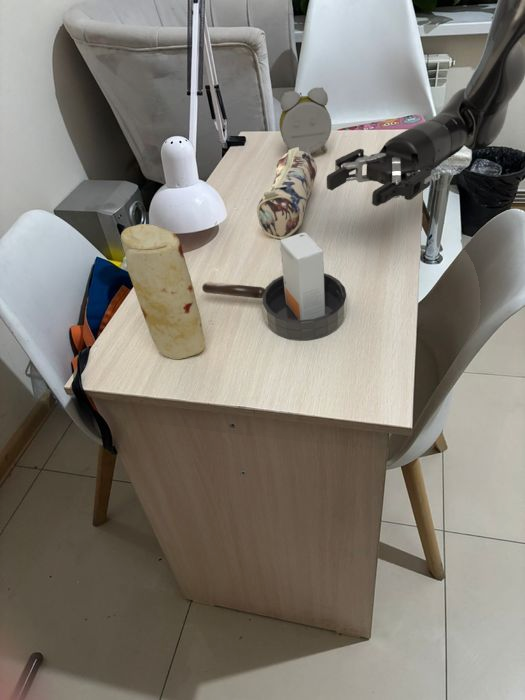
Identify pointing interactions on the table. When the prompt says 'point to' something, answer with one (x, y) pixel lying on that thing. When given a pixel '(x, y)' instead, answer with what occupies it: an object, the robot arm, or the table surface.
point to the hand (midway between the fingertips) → (350, 191)
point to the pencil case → (287, 194)
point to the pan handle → (233, 290)
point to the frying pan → (302, 330)
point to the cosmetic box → (303, 276)
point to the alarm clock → (305, 120)
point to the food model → (164, 289)
